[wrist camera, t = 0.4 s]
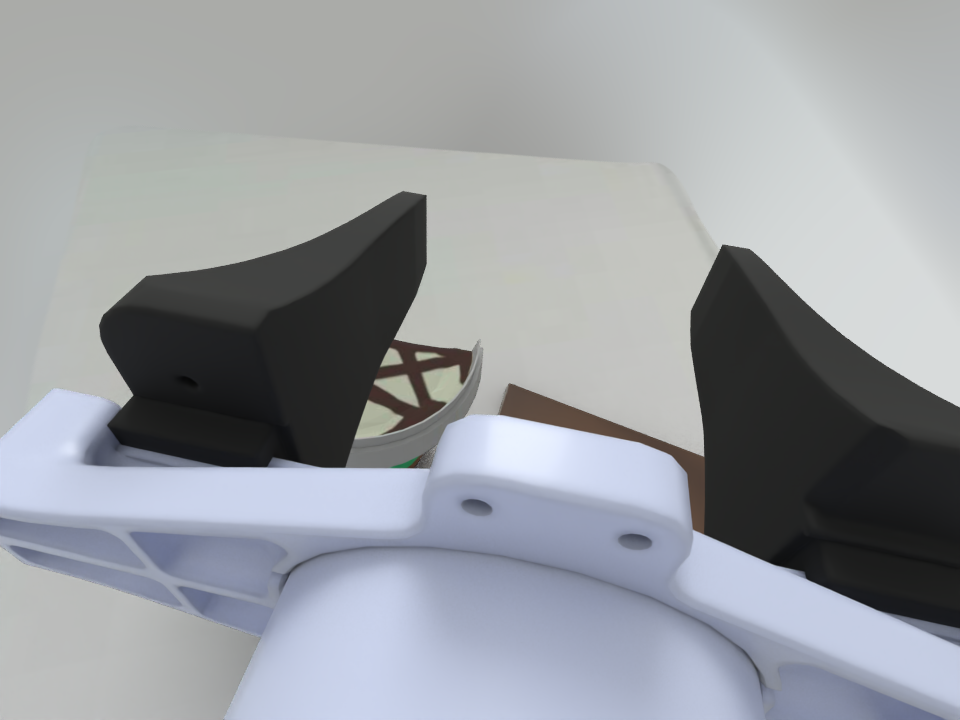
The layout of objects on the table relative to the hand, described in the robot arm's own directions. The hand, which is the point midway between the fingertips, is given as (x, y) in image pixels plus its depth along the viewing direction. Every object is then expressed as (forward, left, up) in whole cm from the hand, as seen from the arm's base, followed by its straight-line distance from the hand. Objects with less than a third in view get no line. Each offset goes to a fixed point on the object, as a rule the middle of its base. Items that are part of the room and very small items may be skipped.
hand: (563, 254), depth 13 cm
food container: (0, +6, -20) cm, 21 cm away
